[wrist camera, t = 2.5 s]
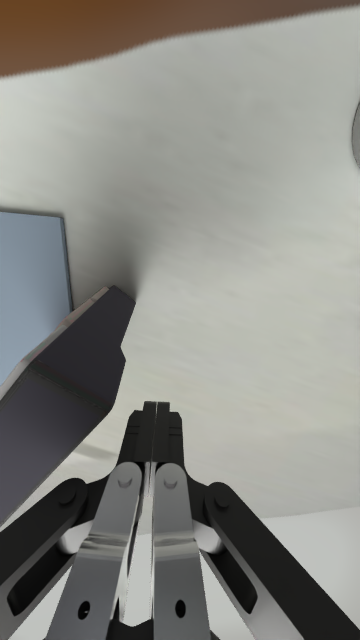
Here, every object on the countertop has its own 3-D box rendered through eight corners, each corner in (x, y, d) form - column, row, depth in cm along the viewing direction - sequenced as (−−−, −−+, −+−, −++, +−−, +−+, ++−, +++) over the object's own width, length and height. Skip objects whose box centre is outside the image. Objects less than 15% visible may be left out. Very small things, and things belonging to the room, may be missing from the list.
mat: (63, 218, 19) (59, 217, 18) (82, 403, 26) (80, 406, 26) (-107, 202, 18) (-116, 200, 18) (-38, 397, 26) (-43, 400, 25)
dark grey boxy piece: (108, 279, 21) (7, 349, 7) (141, 305, 22) (114, 409, 8) (50, 352, 23) (-120, 522, 9) (83, 371, 24) (-17, 546, 10)
